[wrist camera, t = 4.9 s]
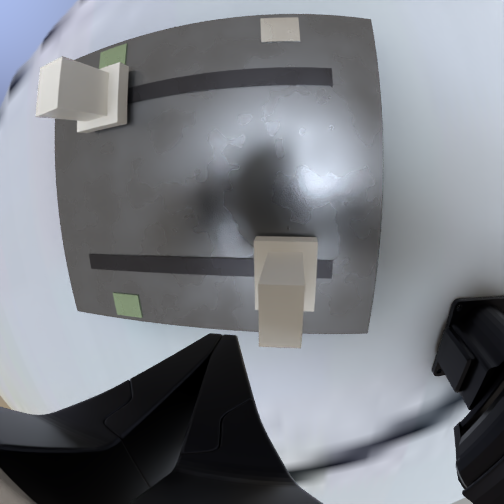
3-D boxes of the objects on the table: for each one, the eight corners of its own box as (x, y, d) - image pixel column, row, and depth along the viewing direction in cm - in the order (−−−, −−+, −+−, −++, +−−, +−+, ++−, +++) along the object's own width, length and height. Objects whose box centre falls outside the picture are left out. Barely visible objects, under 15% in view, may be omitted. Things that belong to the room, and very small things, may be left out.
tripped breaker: (316, 237, 14) (325, 272, 10) (313, 302, 15) (318, 358, 11) (256, 236, 15) (237, 269, 10) (257, 301, 16) (241, 355, 11)
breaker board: (363, 33, 13) (371, 18, 11) (361, 317, 18) (367, 334, 16) (76, 71, 16) (58, 66, 14) (92, 300, 21) (76, 311, 19)
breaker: (128, 66, 13) (74, 42, 8) (127, 123, 14) (67, 115, 9) (89, 79, 13) (33, 63, 9) (87, 133, 14) (27, 130, 10)
